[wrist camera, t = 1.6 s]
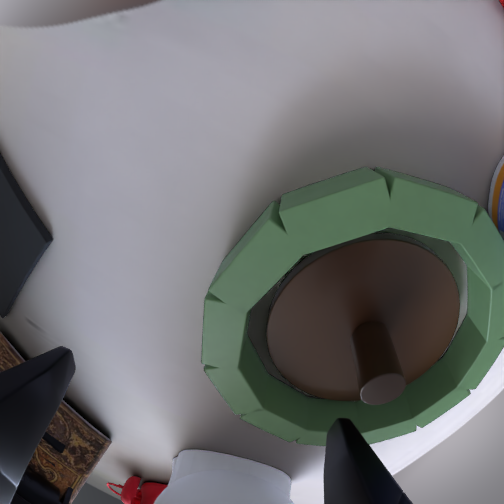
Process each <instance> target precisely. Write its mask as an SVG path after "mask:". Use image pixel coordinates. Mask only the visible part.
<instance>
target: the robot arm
mask: <svg viewBox="0 0 504 504" xmlns="http://www.w3.org/2000/svg"><path fill="white" fill-rule="evenodd" d="M74 373H75V362H74V357H73V353H72V351H71V350H70V349H68V348H66V347H63V346H60V347H57V348H55V349H53V350H51V351H48V352H46V353H44V354H42V355H39V356H37V357H35V358H32V359H30V360H28V361H25V362H23V363H21V364H19V365H16V366H14V367H12V368H9V369H7V370H5V371H2V372H0V504H69V502H70V498H71V495H72V492H73V490H74V489H72V488H70V487H68V488H67V490H66V491H65V493H64V495H63V496H62V498H61V499H60V500H59V497H60V489H59V488H58V487H57V486H55V485H54V484H52V483H51V482H49V481H48V480H47V479H45V478H44V477H42V476H41V475H40V474H38V473H37V472H36V471H34V470H33V469H32V468H31V467H29V466H28V464H29V462H30V460H31V458H32V456H33V454H34V452H35V450H36V448H37V446H38V444H39V442H40V440H41V439H43V440H45V441H46V442H47V443H48V444H49V445H50V446H52V447H53V448H54V449H55V450H57V451H58V452H59V453H63V452H64V449H65V446H66V445H64V444H63V443H61V442H60V441H58V440H57V439H56V438H54V437H53V436H51V435H50V434H49V433H47V432H46V429H47V428H48V426H49V424H50V422H51V420H52V419H53V417H54V415H55V413H56V412H57V410H58V408H59V406H60V404H61V402H62V400H63V397H64V395H65V393H66V390H67V388H68V386H69V384H70V382H71V379H72V377H73V375H74ZM40 456H41V455H40ZM43 458H44V457H43ZM44 459H45V458H44ZM45 460H47V459H45ZM47 461H48V460H47ZM48 462H49V463H50V464H52V465H53V466H54V467H55V464H53V463H51V462H50V461H48ZM324 504H413V503H412V502H411V501H410V500H409V498H408V497H407V496H406V494H405V493H404V492H403V490H402V489H401V488H400V486H399V485H398V484H397V482H396V481H395V480H394V478H393V477H392V475H391V474H390V473H389V471H388V470H387V469H386V467H385V466H384V465H383V463H382V462H381V461H380V459H379V458H378V456H377V455H376V454H375V452H374V451H373V450H372V448H371V447H370V446H369V444H368V443H367V441H366V440H365V439H364V437H363V436H362V435H361V433H360V432H359V430H358V429H357V428H356V426H355V425H354V423H353V422H352V421H351V420H350V419H349V418H337V419H336V420H335V422H334V423H333V425H332V426H331V428H330V429H329V431H328V433H327V437H326V451H325V463H324Z"/></svg>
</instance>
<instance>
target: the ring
mask: <svg viewBox="0 0 504 504" xmlns="http://www.w3.org/2000/svg"><path fill="white" fill-rule="evenodd" d="M389 227H391V228H395V229H400V230H404V231H408V232H412V233H417V234H421V235H425V236H429V237H433V238H437V239H441V240H445V241H449V242H450V243H451V245H452V246H453V247H454V248H455V250H456V251H457V252H458V254H459V255H460V256H461V258H462V259H463V261H464V262H465V263H466V265H467V283H468V309H467V315H466V317H465V319H464V321H463V323H462V325H461V327H460V329H459V331H458V332H457V334H456V336H455V338H454V340H453V342H452V343H451V345H450V347H449V349H448V350H447V352H446V354H445V355H444V357H443V358H442V359H440V360H439V361H438V362H437V363H436V364H434V365H433V366H432V367H431V368H430V369H429V370H427V371H426V372H425V373H424V374H423V375H421V376H420V377H419V378H417V379H416V380H414V381H413V382H412V383H410V384H408V385H407V386H406V387H405V389H404V391H403V392H402V394H401V395H400V396H398V397H397V398H396V399H394V400H392V401H390V402H388V403H385V404H380V405H371V404H367V403H365V402H363V401H362V400H360V401H355V402H354V401H336V400H329V399H319V398H310V397H307V396H305V395H304V394H302V393H300V392H298V391H296V390H295V389H293V388H291V387H290V386H288V385H286V384H284V383H283V382H281V381H279V380H278V379H276V378H274V377H273V376H271V375H269V374H268V373H267V371H266V369H265V367H264V365H263V363H262V361H261V360H260V358H259V356H258V354H257V352H256V350H255V348H254V346H253V344H252V342H251V341H250V339H249V337H248V335H247V331H248V325H249V319H250V313H251V308H252V307H253V306H254V305H255V304H256V303H257V302H258V301H259V300H260V299H261V298H262V297H263V296H264V295H265V294H266V293H267V292H268V291H269V290H270V289H271V288H272V287H273V286H274V285H275V284H276V283H277V282H278V281H279V280H280V279H281V278H282V277H283V276H284V275H285V274H286V273H287V272H288V271H289V270H290V268H291V267H292V266H293V265H294V264H295V263H296V262H297V261H298V260H299V259H300V258H301V257H302V256H303V255H306V254H309V253H312V252H315V251H318V250H321V249H325V248H328V247H331V246H334V245H337V244H340V243H343V242H346V241H349V240H352V239H356V238H359V237H362V236H365V235H368V234H371V233H374V232H377V231H380V230H383V229H386V228H389ZM208 290H209V291H208V293H207V295H206V297H205V299H204V316H203V334H202V356H201V363H202V364H205V367H204V371H205V373H206V374H207V376H208V377H209V379H210V380H211V382H212V383H213V384H214V386H215V387H216V389H217V390H218V392H219V393H220V394H221V396H222V397H223V399H224V400H225V401H226V403H227V404H228V405H229V407H230V408H231V409H232V411H233V412H234V414H236V415H237V414H241V416H240V419H242V420H244V421H246V422H248V423H250V424H252V425H254V426H256V427H258V428H260V429H262V430H264V431H266V432H268V433H270V434H272V435H275V436H277V437H279V438H281V439H283V440H286V441H288V442H292V441H294V440H296V443H297V444H304V445H316V446H326V437H327V433H328V431H329V429H330V428H331V426H332V425H333V423H334V422H335V420H336V419H337V418H349V419H350V420H351V421H352V422H353V423H354V425H355V426H356V428H357V429H358V430H359V432H360V433H361V435H362V436H363V437H364V439H365V440H366V441H367V443H368V444H373V443H377V442H381V441H384V440H388V439H391V438H395V437H398V436H402V435H405V434H408V433H411V432H414V431H416V425H417V426H419V427H421V428H423V427H424V426H426V425H427V424H429V423H431V422H432V421H434V420H435V419H437V418H438V417H440V416H441V415H442V414H444V413H445V412H447V411H448V410H450V409H451V408H452V407H454V406H455V405H457V404H458V403H459V402H461V401H462V400H463V399H465V398H466V397H467V396H469V395H470V394H471V393H470V390H469V389H476V388H477V386H478V385H479V383H480V382H481V381H482V379H483V378H484V376H485V375H486V374H487V372H488V371H489V369H490V368H491V366H492V365H493V363H494V362H495V360H496V359H497V357H498V355H499V354H500V352H501V351H502V349H503V347H504V240H503V238H502V236H501V235H500V233H499V231H498V229H497V228H496V226H495V224H494V223H493V221H492V219H491V218H490V216H489V215H488V213H487V211H486V210H485V209H484V208H483V207H481V206H479V205H478V203H477V202H476V201H474V200H472V199H470V198H468V197H466V196H464V195H462V194H460V193H458V192H456V191H454V190H452V189H450V188H448V187H445V186H442V185H439V184H436V183H433V182H430V181H427V180H423V179H420V178H417V177H413V176H410V175H406V174H403V173H399V172H396V171H392V170H388V169H385V168H381V167H376V168H375V171H373V170H371V169H369V168H368V167H363V168H360V169H357V170H354V171H351V172H348V173H344V174H341V175H338V176H335V177H332V178H329V179H326V180H323V181H320V182H317V183H314V184H311V185H308V186H305V187H302V188H299V189H297V190H294V191H291V192H288V193H285V194H282V197H281V203H280V204H278V203H277V202H276V201H273V202H272V203H271V204H270V205H269V206H268V207H267V209H266V210H265V211H264V212H263V213H262V215H261V216H260V217H259V218H258V219H257V221H256V222H255V223H254V224H253V225H252V226H251V228H250V229H249V230H248V231H247V232H246V234H245V235H244V236H243V237H242V238H241V240H240V241H239V242H238V243H237V244H236V246H235V247H234V248H233V249H232V250H231V252H230V253H229V254H228V255H227V256H226V258H225V259H224V260H223V261H222V263H221V265H220V267H219V269H218V271H217V273H216V275H215V277H214V279H213V281H212V283H211V285H210V287H209V289H208Z"/></svg>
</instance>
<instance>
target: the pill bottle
mask: <svg viewBox="0 0 504 504" xmlns="http://www.w3.org/2000/svg"><path fill="white" fill-rule="evenodd" d="M488 213H489V216H490V218H491V219H492V221H493V223H494V224H495V226H496V228H497V229H498V231H499V233H500V235H501V236H502V238H503V240H504V156H503V157H502V159H501V160H500V162H499V164H498V166H497V168H496V170H495V172H494V175H493V178H492V182H491V187H490V192H489V202H488Z"/></svg>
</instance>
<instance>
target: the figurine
mask: <svg viewBox="0 0 504 504" xmlns="http://www.w3.org/2000/svg"><path fill="white" fill-rule="evenodd" d="M172 468H173V472H172V475H171V478H170V481H169V484H168V487H166V488H165V489H164V490H163V491H162V493H161V494H160V495H159V496H158V497H157V499H156V500H155V502H154V504H294V503H293V501H292V500H291V499H290V490H291V479H290V477H289V475H287V474H285V473H284V472H282V471H281V470H278V469H276V468H273V467H271V466H269V465H266V464H262V463H259V462H256V461H253V460H249V459H245V458H241V457H237V456H233V455H229V454H224V453H218V452H214V451H206V450H197V449H192V450H183V451H181V452H179V455H178V457H175V458H173V466H172Z"/></svg>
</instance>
